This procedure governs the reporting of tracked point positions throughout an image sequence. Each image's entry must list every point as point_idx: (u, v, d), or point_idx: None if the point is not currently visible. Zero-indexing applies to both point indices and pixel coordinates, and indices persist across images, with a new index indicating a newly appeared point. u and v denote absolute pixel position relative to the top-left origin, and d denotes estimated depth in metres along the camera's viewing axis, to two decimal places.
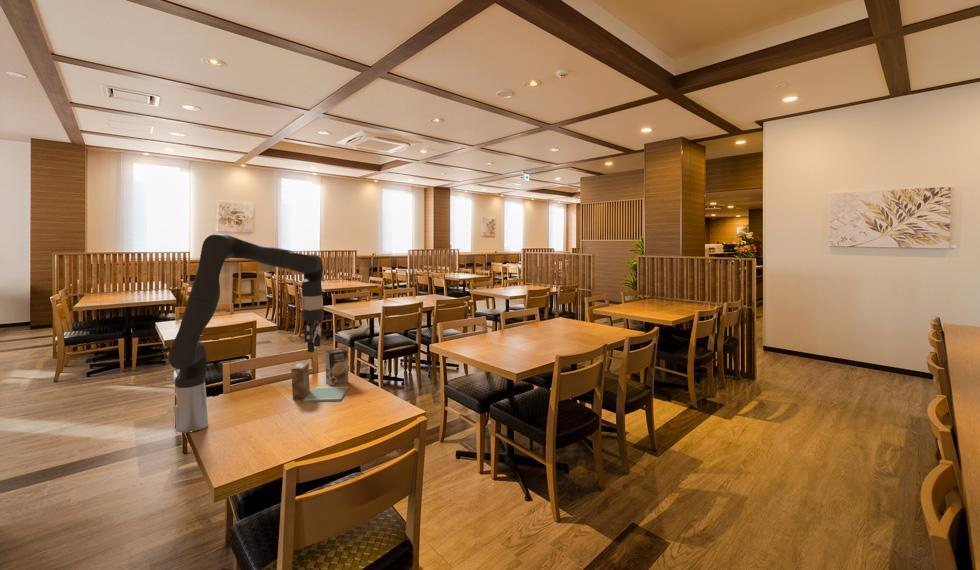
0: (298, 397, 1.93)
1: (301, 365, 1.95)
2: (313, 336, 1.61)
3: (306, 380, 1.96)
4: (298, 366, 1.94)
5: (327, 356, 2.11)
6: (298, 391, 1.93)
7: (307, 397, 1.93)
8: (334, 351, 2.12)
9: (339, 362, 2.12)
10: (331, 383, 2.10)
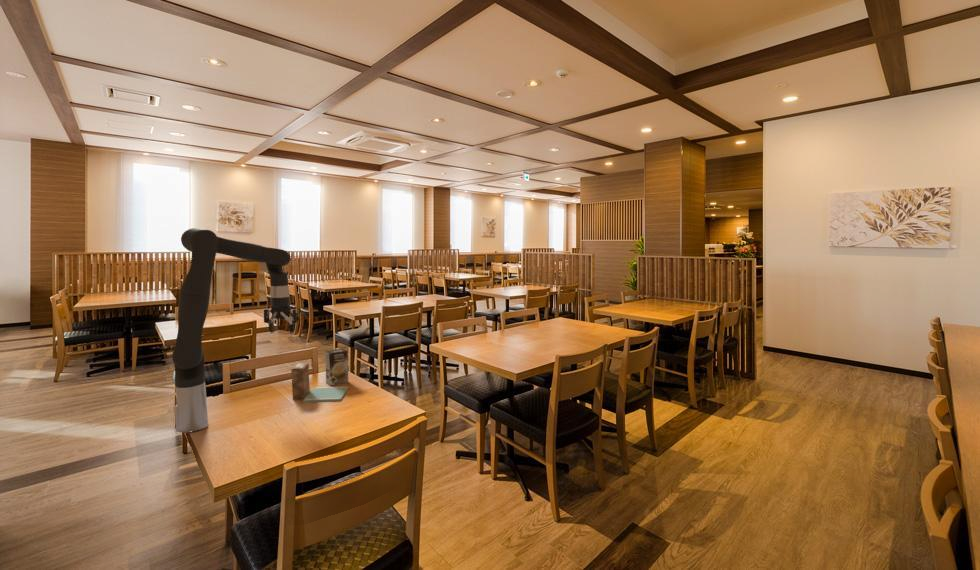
0: (298, 397, 1.93)
1: (301, 365, 1.95)
2: (292, 318, 1.90)
3: (306, 380, 1.96)
4: (298, 366, 1.94)
5: (327, 356, 2.11)
6: (298, 391, 1.93)
7: (307, 397, 1.93)
8: (334, 351, 2.12)
9: (339, 362, 2.12)
10: (331, 383, 2.10)
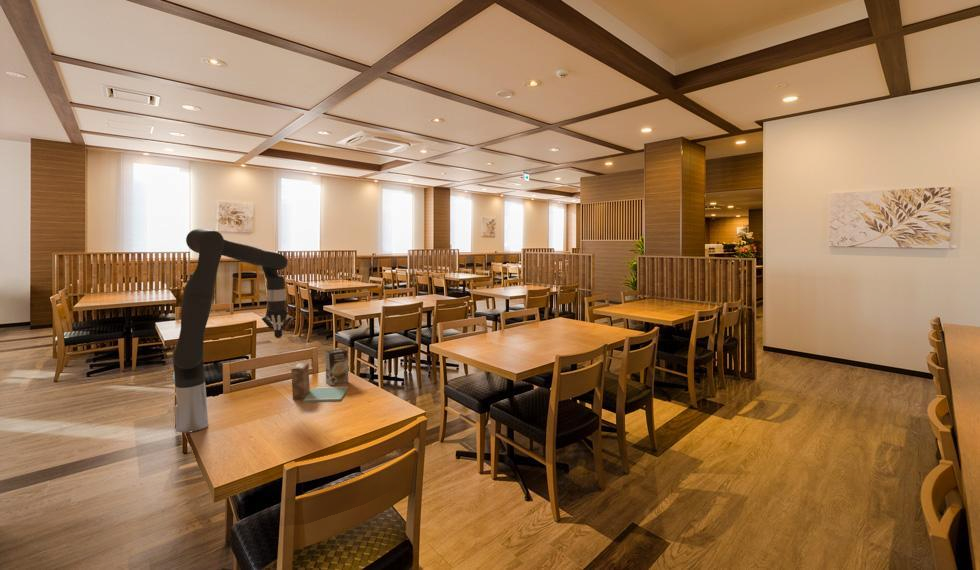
0: (298, 397, 1.93)
1: (301, 365, 1.95)
2: (282, 324, 1.93)
3: (306, 380, 1.96)
4: (298, 366, 1.94)
5: (327, 356, 2.11)
6: (298, 391, 1.93)
7: (307, 397, 1.93)
8: (334, 351, 2.12)
9: (339, 362, 2.12)
10: (331, 383, 2.10)
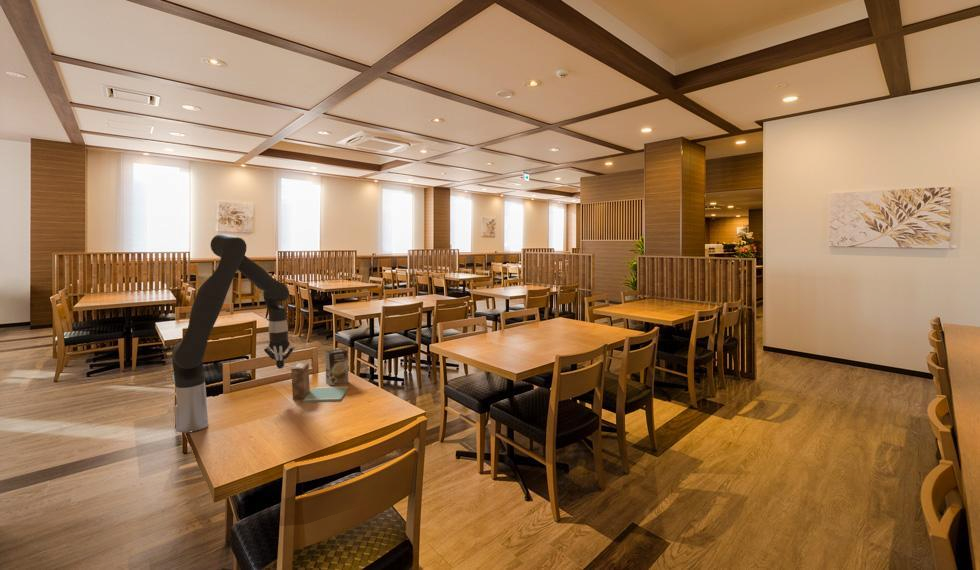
0: (298, 397, 1.93)
1: (301, 365, 1.95)
2: (284, 354, 1.95)
3: (306, 380, 1.96)
4: (298, 366, 1.94)
5: (327, 356, 2.11)
6: (298, 391, 1.93)
7: (307, 397, 1.93)
8: (334, 351, 2.12)
9: (339, 362, 2.12)
10: (331, 383, 2.10)
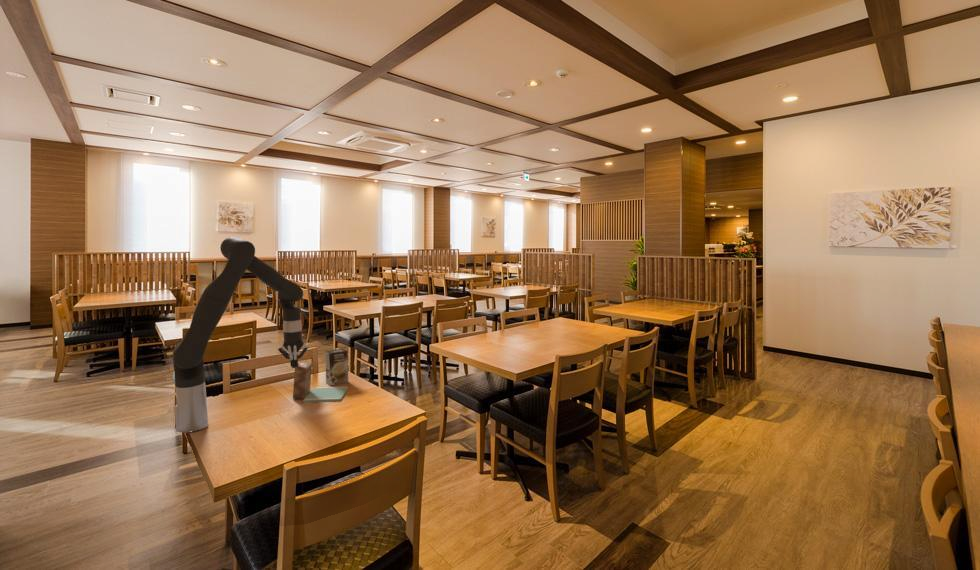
0: (298, 396, 1.93)
1: (305, 365, 1.96)
2: None
3: (308, 380, 1.96)
4: (302, 365, 1.94)
5: (327, 356, 2.11)
6: (299, 390, 1.93)
7: (307, 397, 1.93)
8: (334, 351, 2.12)
9: (339, 362, 2.12)
10: (331, 383, 2.10)
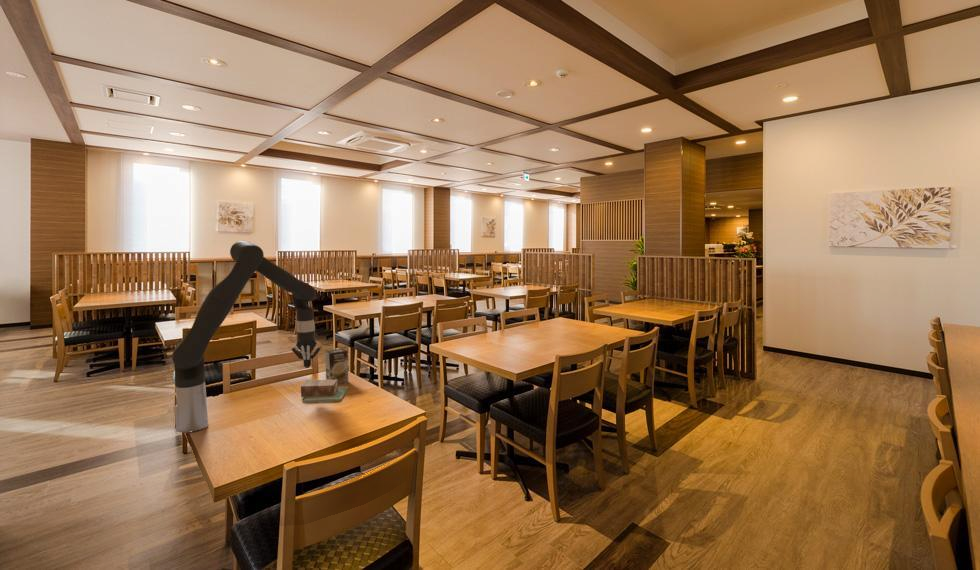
0: (302, 391, 1.93)
1: (336, 388, 1.98)
2: None
3: None
4: (335, 388, 1.97)
5: (327, 356, 2.11)
6: (309, 391, 1.93)
7: (307, 397, 1.93)
8: (334, 351, 2.12)
9: (339, 362, 2.12)
10: None
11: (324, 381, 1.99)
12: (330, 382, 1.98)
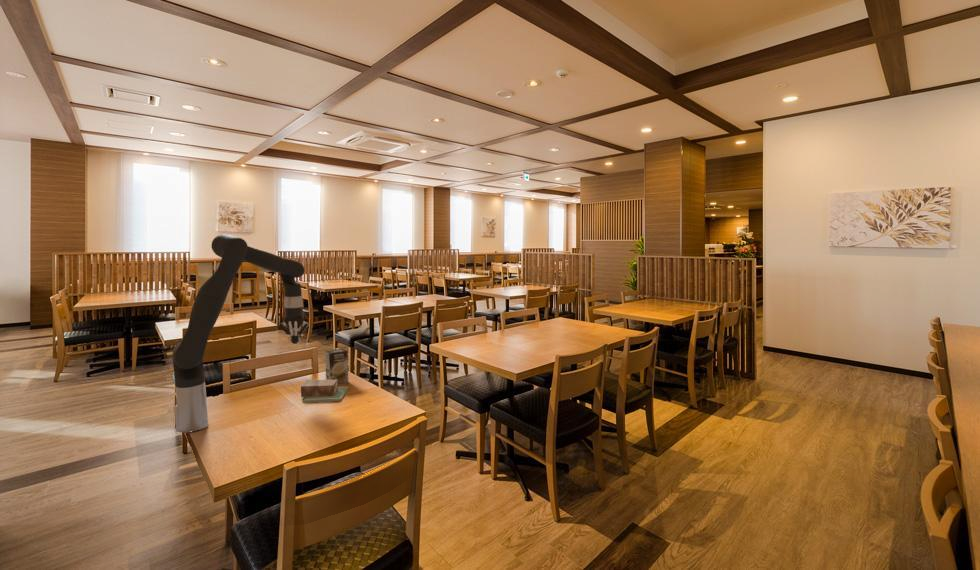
0: (302, 391, 1.93)
1: (336, 388, 1.98)
2: None
3: None
4: (335, 388, 1.97)
5: (327, 356, 2.11)
6: (309, 391, 1.93)
7: (307, 397, 1.93)
8: (334, 351, 2.12)
9: (339, 362, 2.12)
10: None
11: (324, 381, 1.99)
12: (330, 382, 1.98)
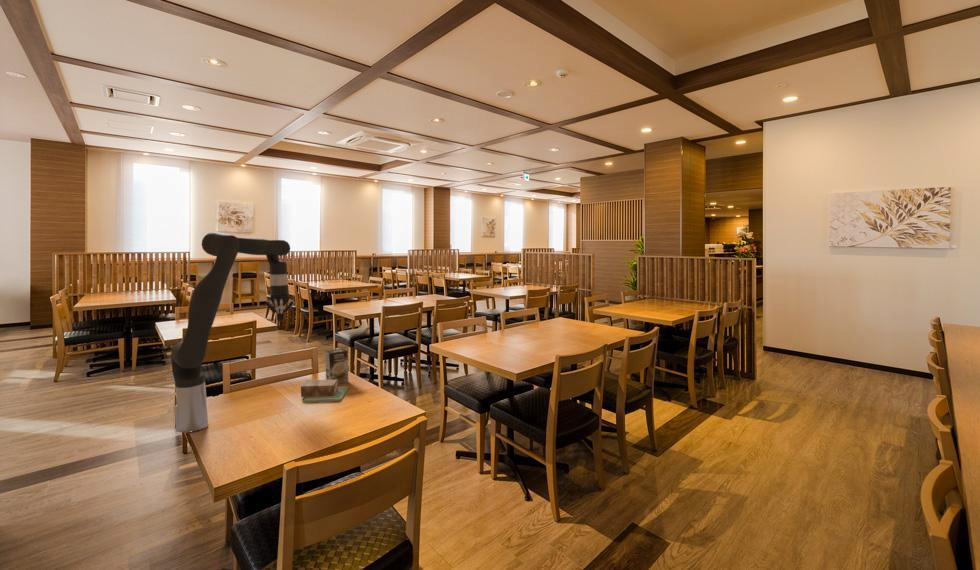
0: (302, 391, 1.93)
1: (336, 388, 1.98)
2: (284, 308, 2.01)
3: None
4: (335, 388, 1.97)
5: (327, 356, 2.11)
6: (309, 391, 1.93)
7: (307, 397, 1.93)
8: (334, 351, 2.12)
9: (339, 362, 2.12)
10: None
11: (324, 381, 1.99)
12: (330, 382, 1.98)
